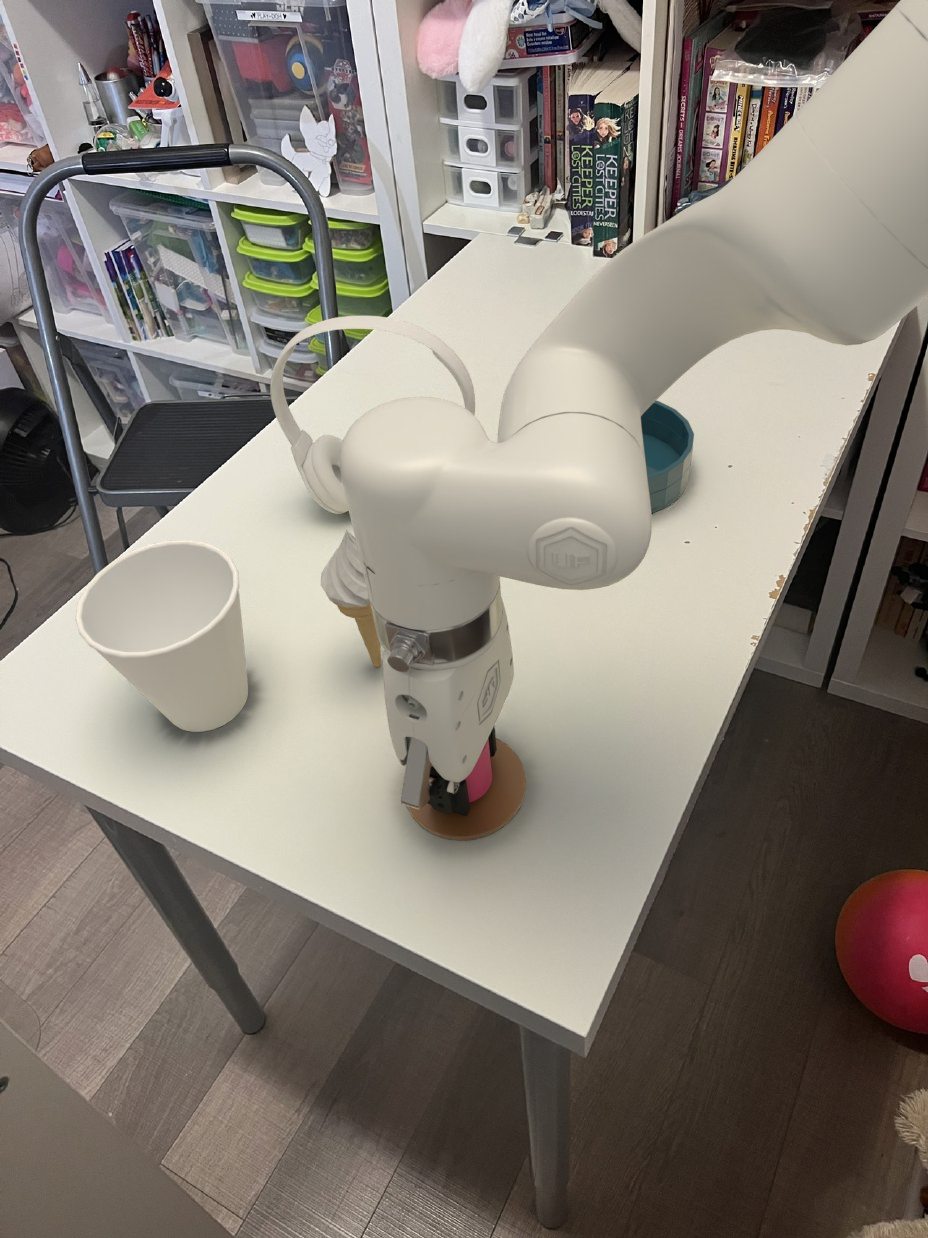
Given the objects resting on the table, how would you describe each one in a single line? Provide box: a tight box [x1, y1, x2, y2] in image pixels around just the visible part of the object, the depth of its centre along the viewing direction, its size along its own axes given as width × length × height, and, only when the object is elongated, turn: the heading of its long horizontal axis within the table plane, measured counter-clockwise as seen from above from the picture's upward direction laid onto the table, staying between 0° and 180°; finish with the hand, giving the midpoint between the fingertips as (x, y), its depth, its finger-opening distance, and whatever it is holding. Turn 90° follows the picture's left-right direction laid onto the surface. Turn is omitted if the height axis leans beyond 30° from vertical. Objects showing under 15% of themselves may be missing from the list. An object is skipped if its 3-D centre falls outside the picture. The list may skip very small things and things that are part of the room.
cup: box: [74, 539, 249, 733], centre depth 68 cm, size 12×12×12 cm
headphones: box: [269, 315, 476, 515], centre depth 81 cm, size 7×18×20 cm, turn 82°
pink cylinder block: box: [431, 739, 492, 802], centre depth 63 cm, size 4×4×5 cm
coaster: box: [406, 738, 527, 841], centre depth 65 cm, size 9×9×1 cm
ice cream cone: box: [320, 529, 382, 668], centre depth 69 cm, size 6×6×15 cm
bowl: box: [641, 400, 695, 514], centre depth 87 cm, size 14×14×4 cm
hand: (462, 776), depth 64 cm, fingers closed on pink cylinder block, 4 cm apart
